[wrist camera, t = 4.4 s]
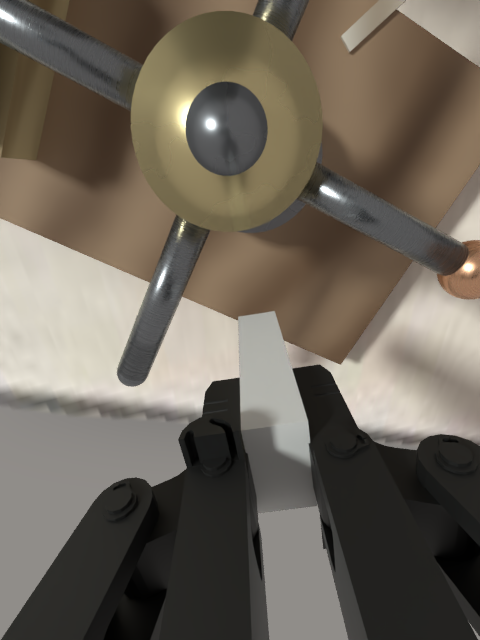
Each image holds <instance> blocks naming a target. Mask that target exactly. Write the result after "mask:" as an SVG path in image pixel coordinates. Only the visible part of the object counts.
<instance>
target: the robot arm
mask: <svg viewBox="0 0 480 640" xmlns="http://www.w3.org/2000/svg"><path fill="white" fill-rule="evenodd" d="M238 330H239V372H240V378H234V379H227V380H221V381H214V382H212V384H211V385H210V386H209V388H208V389H207V391H206V392H205V399H204V406H203V414H202V417H201V418H199V419H197V420H195V421H193V422H192V423H190V424H189V425H188V426H187V427H186V428H185V429H184V430H183V431H182V433H181V435H180V437H179V444H180V446H181V450H182V453H183V456H184V459H185V463H186V466H187V469H186V470H184V471H183V472H182V473H181V474H179V475H178V476H176V477H174V478H172V479H170V480H168V481H165V482H163V483H161V484H158V485H156V486H154V487H151V486H150V485H149V484H148V483H147V481H145V480H143V479H140V478H127V479H124V480H121V481H119V482H116V483H114V484H112V485H111V486H110V487H108V488H107V489H106V490H104V491H103V492H102V493H101V494H100V495H99V496H98V498H97V499H96V500H95V501H94V502H93V504H92V505H91V507H90V508H89V510H88V511H87V513H86V514H85V516H84V517H83V519H82V520H81V522H80V523H79V525H78V526H77V528H76V529H75V531H74V532H73V534H72V535H71V536H70V538H69V540H68V541H67V543H66V544H65V545H64V547H63V548H62V550H61V551H60V553H59V554H58V556H57V557H56V559H55V560H54V562H53V563H52V565H51V566H50V568H49V569H48V571H47V572H46V574H45V575H44V577H43V578H42V580H41V581H40V583H39V584H38V586H37V587H36V589H35V590H34V592H33V593H32V594H31V596H30V597H29V599H28V600H27V602H26V603H25V605H24V607H23V608H22V609H21V611H20V613H19V614H18V615H17V617H16V618H15V620H14V621H13V623H12V624H11V626H10V627H9V629H8V630H7V632H6V633H5V635H4V636H3V638H2V639H1V640H269V631H268V619H267V606H266V594H265V579H264V566H263V553H262V542H261V541H262V540H261V533H260V528H259V524H258V513H264V512H272V511H280V510H288V509H295V508H303V507H311V506H317V504H318V508H319V512H320V519H321V529H322V539H323V548H324V549H327V553H328V557H329V561H330V565H331V570H332V573H333V578H334V582H335V586H336V590H337V594H338V598H339V602H340V606H341V610H342V614H343V618H344V623H345V627H346V631H347V635H348V639H349V640H478V639H477V637H476V635H475V634H474V631H473V629H472V628H471V626H470V624H471V625H472V627H473V628H474V629H475V631H476V632H477V633H478V635H479V636H480V446H478V445H477V444H475V443H473V442H472V441H470V440H467V439H464V438H461V437H458V436H453V435H443V434H440V435H434V436H429V437H427V438H426V439H424V440H423V441H421V442H420V444H419V447H418V449H417V450H409V449H400V448H393V447H388V446H384V445H381V444H379V443H376V442H374V441H373V440H372V439H371V438H370V437H369V435H368V434H367V433H365V432H363V431H362V430H360V429H359V428H358V427H357V425H356V423H355V421H354V419H353V417H352V415H351V413H350V411H349V409H348V407H347V405H346V403H345V401H344V399H343V397H342V395H341V393H340V391H339V389H338V387H337V385H336V383H335V381H334V379H333V376H332V374H331V372H329V371H328V370H327V369H325V368H324V367H322V366H321V365H314V366H307V367H300V368H294V369H292V366H291V363H290V360H289V357H288V353H287V350H286V347H285V343H284V340H283V337H282V334H281V330H280V327H279V324H278V320H277V317H276V314H275V311H271V312H265V313H259V314H253V315H246V316H240V317H238ZM316 500H317V501H316ZM257 509H258V511H257ZM468 621H469V622H468ZM469 623H470V624H469Z"/></svg>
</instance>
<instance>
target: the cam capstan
mask: <svg viewBox="0 0 480 640" xmlns="http://www.w3.org/2000/svg"><path fill="white" fill-rule="evenodd" d="M309 1H310V0H258V3H257V5H256V8H255V10H254V13H253V16H252V15H249V14H246V13H242V12H235V11H214V12H209V13H203V14H200V15H198V16H195V17H192V18H189V19H188V20H186V21H184V22H182V23H180V24H179V25H177V26H176V27H174V28H173V29H172V30H171V31H169V32H168V33H167V34H166V35H165V36H164V37H163V38H162V39H161V40H160V41H159V42H158V43H157V44H156V45H155V47H154V48H153V50H152V51H151V53H150V54H149V55H148V57H147V59H146V61H145V63H144V65H143V64H141V63H139V62H137V61H136V60H134V59H132V58H130V57H128V56H127V55H125V54H123V53H121V52H119V51H118V50H116V49H114V48H112V47H111V46H109V45H107V44H105V43H103V42H102V41H100V40H98V39H96V38H94V37H93V36H91V35H89V34H87V33H85V32H84V31H82V30H80V29H78V28H77V27H75V26H73V25H71V24H69V23H68V22H66V21H64V20H62V19H60V18H59V17H57V16H55V15H53V14H52V13H50V12H48V11H46V10H44V9H43V8H41V7H39V6H37V5H35V4H34V3H32V2H30V1H28V0H0V43H2V44H4V45H5V46H7V47H9V48H11V49H13V50H15V51H17V52H19V53H21V54H22V55H24V56H26V57H28V58H30V59H32V60H34V61H36V62H38V63H40V64H41V65H43V66H45V67H47V68H49V69H51V70H53V71H55V72H57V73H58V74H60V75H62V76H64V77H66V78H68V79H70V80H72V81H74V82H76V83H77V84H79V85H81V86H83V87H85V88H87V89H89V90H91V91H93V92H95V93H96V94H98V95H100V96H102V97H104V98H106V99H108V100H110V101H112V102H113V103H115V104H117V105H119V106H121V107H123V108H125V109H127V110H129V111H131V133H132V141H133V146H134V150H135V154H136V157H137V160H138V163H139V166H140V168H141V171H142V173H143V175H144V177H145V179H146V181H147V182H148V184H149V185H150V187H151V188H152V190H153V191H154V193H155V194H156V195H157V196H158V198H159V199H160V200H161V201H162V202H163V203H164V204H165V205H166V206H167V207H168V208H169V209H170V210H171V211H173V212H174V213H175V214H176V216H175V219H174V222H173V224H172V227H171V229H170V232H169V235H168V237H167V240H166V242H165V245H164V248H163V250H162V253H161V256H160V258H159V261H158V263H157V266H156V269H155V271H154V274H153V276H152V279H151V282H150V284H149V287H148V289H147V292H146V295H145V297H144V300H143V302H142V305H141V308H140V310H139V313H138V316H137V318H136V321H135V323H134V326H133V329H132V331H131V334H130V336H129V339H128V342H127V344H126V347H125V349H124V352H123V355H122V357H121V360H120V362H119V365H118V368H117V376H118V378H119V380H120V381H121V382H122V383H123V384H124V385H127V386H138V385H140V384H142V383H143V382H144V381H145V380H146V378H147V376H148V374H149V372H150V370H151V367H152V365H153V363H154V360H155V358H156V356H157V353H158V351H159V349H160V346H161V344H162V342H163V339H164V337H165V335H166V332H167V330H168V328H169V325H170V323H171V321H172V318H173V316H174V314H175V312H176V309H177V307H178V305H179V302H180V300H181V298H182V295H183V293H184V291H185V288H186V286H187V284H188V281H189V279H190V277H191V274H192V272H193V270H194V267H195V265H196V263H197V261H198V258H199V256H200V254H201V251H202V249H203V247H204V244H205V242H206V240H207V237H208V235H209V233H210V230H213V231H222V232H236V231H237V232H243V233H259V232H265V231H268V230H272V229H274V228H277V227H279V226H281V225H283V224H284V223H286V222H288V221H289V220H290V219H292V218H293V217H294V216H295V215H296V214H297V213H298V212H299V211H300V210H301V209H302V208H303V207H304V206H305V204H307V205H309V206H311V207H313V208H314V209H316V210H318V211H320V212H322V213H324V214H326V215H328V216H330V217H332V218H333V219H335V220H337V221H339V222H341V223H343V224H345V225H347V226H349V227H351V228H352V229H354V230H356V231H358V232H360V233H362V234H364V235H366V236H368V237H369V238H371V239H373V240H375V241H377V242H379V243H381V244H383V245H385V246H387V247H388V248H390V249H392V250H394V251H396V252H398V253H400V254H402V255H404V256H406V257H407V258H409V259H411V260H413V261H415V262H417V263H419V264H421V265H423V266H424V267H426V268H428V269H430V270H432V271H434V272H436V273H437V277H438V281H439V283H440V285H441V287H442V288H443V289H444V290H445V291H446V292H447V293H449V294H450V295H452V296H455V297H457V298H461V299H479V298H480V240H471V241H466V242H462V243H461V242H459V241H457V240H456V239H454V238H452V237H450V236H448V235H447V234H445V233H443V232H441V231H439V230H438V229H436V228H434V227H432V226H431V225H429V224H427V223H425V222H423V221H422V220H420V219H418V218H416V217H414V216H413V215H411V214H409V213H407V212H406V211H404V210H402V209H400V208H398V207H397V206H395V205H393V204H391V203H389V202H388V201H386V200H384V199H382V198H380V197H379V196H377V195H375V194H373V193H372V192H370V191H368V190H366V189H364V188H363V187H361V186H359V185H357V184H355V183H354V182H352V181H350V180H348V179H347V178H345V177H343V176H341V175H339V174H338V173H336V172H334V171H332V170H330V169H329V168H327V167H325V166H323V165H322V141H321V140H322V128H323V121H322V107H321V101H320V95H319V92H318V88H317V84H316V81H315V79H314V76H313V74H312V72H311V69H310V67H309V65H308V64H307V62H306V60H305V58H304V57H303V55H302V54H301V52H300V51H299V50H298V48H297V47H296V46H295V44H294V43H293V42H292V40H293V38H294V35H295V33H296V31H297V29H298V26H299V24H300V22H301V19H302V17H303V15H304V12H305V10H306V8H307V5H308V3H309Z"/></svg>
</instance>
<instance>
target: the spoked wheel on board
mask: <svg viewBox="0 0 480 640" xmlns="http://www.w3.org/2000/svg"><path fill="white" fill-rule="evenodd" d="M28 1H30V2H32V3H34V4H35V5H37V6H39V7H41V8H43V9H44V10H46V11H48V12H50V13H52V14H53V15H55V16H57V17H59V18H60V19H62V20H64V21H66V22H68V23H69V24H71V25H73V26H75V27H77V28H78V29H80V30H82V31H84V32H85V33H87V34H89V35H91V36H93V37H94V38H96V39H98V40H100V41H102V42H103V43H105V44H107V45H109V46H111V47H112V48H114V49H116V50H118V51H119V52H121V53H123V54H125V55H127V56H128V57H130V58H132V59H134V60H136V61H137V62H139V63H141V64H143V65H144V63H145V61H146V59H147V57H148V55H149V54H150V53H151V51H152V50H153V48H154V47H155V45H156V44H157V43H158V42H159V41H160V40H161V39H162V38H163V37H164V36H165V35H166V34H167V33H168V32H169V31H171V30H172V29H173V28H174V27H176V26H177V25H179V24H180V23H182V22H184V21H186V20H188V19H189V18H192V17H195V16H198V15H200V14H203V13H209V12H214V11H235V12H242V13H246V14H249V15H252V16H253V13H254V10H255V8H256V5H257V3H258V0H28ZM405 1H406V0H310V1H309V3H308V5H307V8H306V10H305V12H304V15H303V17H302V19H301V22H300V24H299V26H298V29H297V31H296V33H295V35H294V38H293V40H292V42H293V43H294V44H295V46H296V47H297V48H298V50H299V51H300V52H301V54H302V55H303V57H304V58H305V60H306V62H307V64H308V65H309V67H310V69H311V72H312V74H313V76H314V79H315V81H316V84H317V88H318V92H319V95H320V101H321V107H322V121H323V128H322V140H321V141H322V165H323V166H325V167H327V168H329V169H330V170H332V171H334V172H336V173H338V174H339V175H341V176H343V177H345V178H347V179H348V180H350V181H352V182H354V183H355V184H357V185H359V186H361V187H363V188H364V189H366V190H368V191H370V192H372V193H373V194H375V195H377V196H379V197H380V198H382V199H384V200H386V201H388V202H389V203H391V204H393V205H395V206H397V207H398V208H400V209H402V210H404V211H406V212H407V213H409V214H411V215H413V216H414V217H416V218H418V219H420V220H422V221H423V222H425V223H427V224H429V225H431V226H432V227H434V228H436V227H437V225H438V224H439V222H440V221H441V219H442V218H443V217H444V215H445V214H446V212H447V211H448V209H449V208H450V207H451V205H452V204H453V202H454V201H455V199H456V198H457V196H458V195H459V194H460V192H461V191H462V189H463V188H464V186H465V185H466V184H467V182H468V181H469V179H470V178H471V176H472V175H473V173H474V172H475V171H476V169H477V168H478V166H479V165H480V68H479V67H478V66H477V65H475V64H474V63H472V62H471V61H469V60H468V59H467V58H465V57H464V56H462V55H461V54H459V53H458V52H457V51H455V50H454V49H452V48H451V47H449V46H448V45H447V44H445V43H444V42H442V41H441V40H439V39H438V38H436V37H435V36H434V35H432V34H431V33H429V32H428V31H426V30H425V29H424V28H422V27H421V26H419V25H418V24H416V23H415V22H414V21H412V20H411V19H409V18H408V17H406V16H405V15H404V14H402V13H401V12H399V11H398V10H396V9H397V8H398V7H399V6H400V5H401V4H403V3H404V2H405ZM175 216H176V214H175V213H174V212H173V211H171V210H170V209H169V208H168V207H167V206H166V205H165V204H164V203H163V202H162V201H161V200H160V199H159V198H158V196H157V195H156V194H155V193H154V191H153V190H152V188H151V187H150V185H149V184H148V182H147V181H146V179H145V177H144V175H143V173H142V171H141V168H140V166H139V163H138V160H137V157H136V154H135V150H134V146H133V141H132V133H131V111H129V110H127V109H125V108H123V107H121V106H119V105H117V104H115V103H113V102H112V101H110V100H108V99H106V98H104V97H102V96H100V95H98V94H96V93H95V92H93V91H91V90H89V89H87V88H85V87H83V86H81V85H79V84H77V83H76V82H74V81H72V80H70V79H68V78H66V77H64V76H62V75H60V74H58V73H57V72H55V71H53V70H51V69H49V68H47V67H45V66H43V65H41V64H40V63H38V62H36V61H34V60H32V59H30V58H28V57H26V56H24V55H22V54H21V53H19V52H17V51H15V50H13V49H11V48H9V47H7V46H5V45H4V44H2V43H0V218H1V219H4V220H6V221H8V222H11V223H13V224H15V225H18V226H20V227H22V228H24V229H27V230H29V231H31V232H34V233H36V234H38V235H41V236H43V237H45V238H48V239H50V240H52V241H55V242H57V243H59V244H62V245H64V246H66V247H69V248H71V249H73V250H76V251H78V252H80V253H83V254H85V255H87V256H90V257H92V258H94V259H96V260H99V261H101V262H103V263H106V264H108V265H110V266H113V267H115V268H117V269H120V270H122V271H124V272H127V273H129V274H131V275H134V276H136V277H138V278H141V279H143V280H145V281H148V282H151V279H152V276H153V274H154V271H155V269H156V266H157V263H158V261H159V258H160V256H161V253H162V250H163V248H164V245H165V242H166V240H167V237H168V235H169V232H170V229H171V227H172V224H173V222H174V219H175ZM412 261H413V260H411V259H409V258H407V257H406V256H404V255H402V254H400V253H398V252H396V251H394V250H392V249H390V248H388V247H387V246H385V245H383V244H381V243H379V242H377V241H375V240H373V239H371V238H369V237H368V236H366V235H364V234H362V233H360V232H358V231H356V230H354V229H352V228H351V227H349V226H347V225H345V224H343V223H341V222H339V221H337V220H335V219H333V218H332V217H330V216H328V215H326V214H324V213H322V212H320V211H318V210H316V209H314V208H313V207H311V206H309V205H307V204H305V206H304V207H303V208H302V209H301V210H300V211H299V212H298V213H297V214H296V215H295V216H294V217H293V218H292V219H290V220H289V221H288V222H286V223H284V224H283V225H281V226H279V227H277V228H274V229H272V230H268V231H265V232H259V233H243V232H237V231H236V232H222V231H213V230H210V233H209V235H208V237H207V240H206V242H205V244H204V247H203V249H202V251H201V254H200V256H199V258H198V261H197V263H196V265H195V267H194V270H193V272H192V274H191V277H190V279H189V281H188V284H187V286H186V288H185V291H184V293H183V295H182V297H185V298H187V299H189V300H192V301H194V302H196V303H199V304H201V305H203V306H206V307H208V308H210V309H213V310H215V311H217V312H220V313H222V314H224V315H227V316H229V317H231V318H233V319H236V320H238V317H240V316H246V315H253V314H259V313H265V312H271V311H275V314H276V317H277V320H278V324H279V327H280V330H281V334H282V337H283V340H285V341H287V342H289V343H292V344H294V345H296V346H299V347H301V348H303V349H305V350H308V351H310V352H312V353H315V354H317V355H319V356H322V357H324V358H326V359H329V360H331V361H333V362H336V363H338V364H340V365H341V363H342V362H343V360H344V359H345V358H346V356H347V355H348V353H349V352H350V350H351V349H352V348H353V346H354V345H355V343H356V342H357V340H358V339H359V337H360V336H361V335H362V333H363V332H364V330H365V329H366V327H367V326H368V324H369V323H370V322H371V320H372V319H373V317H374V316H375V314H376V313H377V312H378V310H379V309H380V307H381V306H382V304H383V303H384V301H385V300H386V299H387V297H388V296H389V294H390V293H391V291H392V290H393V289H394V287H395V286H396V284H397V283H398V281H399V280H400V278H401V277H402V276H403V274H404V273H405V271H406V270H407V268H408V267H409V266H410V264H411V263H412Z"/></svg>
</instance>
